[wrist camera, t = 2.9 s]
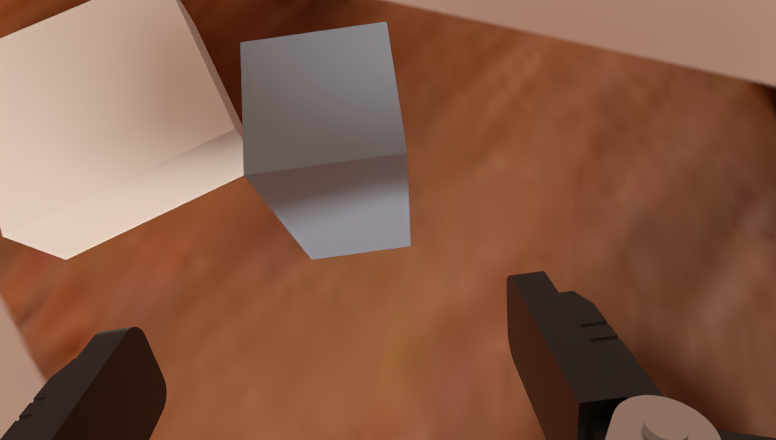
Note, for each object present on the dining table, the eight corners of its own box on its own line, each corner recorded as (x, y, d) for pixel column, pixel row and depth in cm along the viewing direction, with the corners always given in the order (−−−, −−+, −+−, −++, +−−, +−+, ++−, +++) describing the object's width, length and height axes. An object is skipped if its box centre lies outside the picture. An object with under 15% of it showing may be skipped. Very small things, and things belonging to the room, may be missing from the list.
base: (195, 24, 29) (162, -30, 25) (261, 166, 26) (235, 128, 22) (21, 99, 28) (-40, 55, 24) (66, 259, 25) (2, 236, 21)
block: (397, 157, 26) (386, 21, 16) (410, 246, 24) (407, 152, 14) (305, 170, 26) (240, 42, 16) (311, 259, 24) (243, 175, 14)
